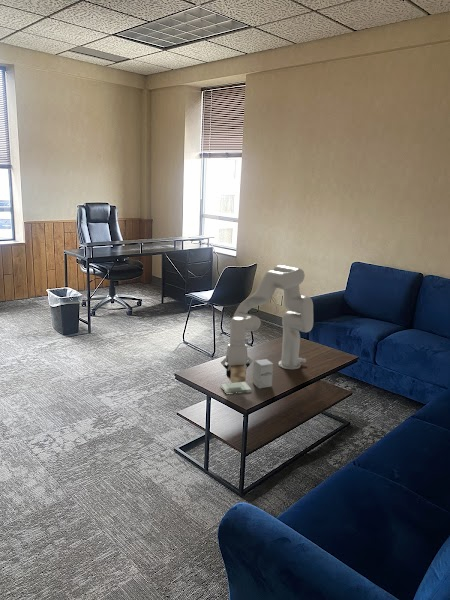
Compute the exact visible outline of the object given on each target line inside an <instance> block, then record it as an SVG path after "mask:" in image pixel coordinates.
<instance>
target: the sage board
mask: <svg viewBox="0 0 450 600" xmlns="http://www.w3.org/2000/svg"><path fill="white" fill-rule="evenodd" d="M221 386H222V388H223V389H224V391H225V392H226V393H236V392H237V393H238V392H247V393H252V388H251V387H250V386H249V384H248V383H247V381H245V382H235V383H232V382H230V383H221V384H220V387H221ZM222 388H221V389H222ZM224 391H223V392H224ZM238 394H239V393H238Z"/></svg>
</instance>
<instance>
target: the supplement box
mask: <svg viewBox="0 0 450 600" xmlns="http://www.w3.org/2000/svg"><path fill="white" fill-rule="evenodd" d="M273 373H274V363H273V362H272V361H270V360H269V359H268V358H265V359H257V360H253V373H252V374H253V377H252V384H254V385H255V386H256V387H257V388H258V389H259V388H260V389H264V388H271V387H272V386H273Z"/></svg>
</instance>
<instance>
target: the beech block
mask: <svg viewBox="0 0 450 600" xmlns="http://www.w3.org/2000/svg"><path fill="white" fill-rule="evenodd" d="M226 363H227V362H226ZM227 364H228V363H227ZM227 364H226V365H227ZM230 371H231V374H230V378H228V376H227V375H226V377H227V379H228V380H229V381H230V383H238V382H247V381H246V375H247V369H246V367H245V366H243V365H234V366H232V367H231V368H230Z"/></svg>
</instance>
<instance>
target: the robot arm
mask: <svg viewBox="0 0 450 600" xmlns="http://www.w3.org/2000/svg"><path fill="white" fill-rule="evenodd" d="M305 278H306V275H305V271H304V270H303V269H302V268H300V267H296V266H295V267H294V266H291V265H289V266H288V265H282V264H278V265H275V266H274V268H273V270H268V271H266V272H265V274H264V275H263V277H262V279H261V280H260V282H259V284H258V286H257V288H256V290H255V291H254V293H253V294H252V295H250V296H248V297H247V298H245V299H244V300H243V301H241V303H240V304H239V305H238V306H237V308H236V310H235V312H234V314H233V316H232V317H231V319H230V333H229V335H230V336H229V343H228V344H227V347H226V354H225V358H224V359H222V361H220V364H221V365H222V366H223V368H225V370H226V374H225V375H226V377H227V376H228V377H227V379H228V378H230V374H231V371H230V368H231V367H232V366H234V365H243V366H245V367H246V370H247V369H248V368H249V367H250V365H251V364H252V363H253V359H251V358H250V357H249V356H248V345H247V343H248V342H249V339H247V338H246V337H247V335H246V334H247V332H253V331H257V330H258V329H259V328H260V327H261V325H262V324H261V323H262V321H261V319H260V318H259V317H258V316H257V315H253V314H250V313H248V312H249V311H250V310H251V309H253V308H254V307H255V308H256V307H257V306H261V305H265V304H268V303H269V302H271V299H272V297H273V296H274V294H275V292H276V290H277V289H280V290H283V303H284V307H285V309H287V310H288V311H285V312H284V313H283V315H282V317H281V319H282V320H281V323H282V345H281V347H282V348H281V359H280V360H279V361H278V366H279V367H280V368H282V369H285V370H298V369H300V368H301V366H302V364H301V363H306V362H307V358H302V357H299V355H300V344H301V333H300V332H302V333H309V332H311V330H312V329H313V327H314V303H313V300H312V298H311V297H309V296H308V295H304V294H301V293H300V292H301V291H300V289H301V288H300V285H301V284H302V283H303V282H304V279H305ZM226 363H228V364H226Z"/></svg>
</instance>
